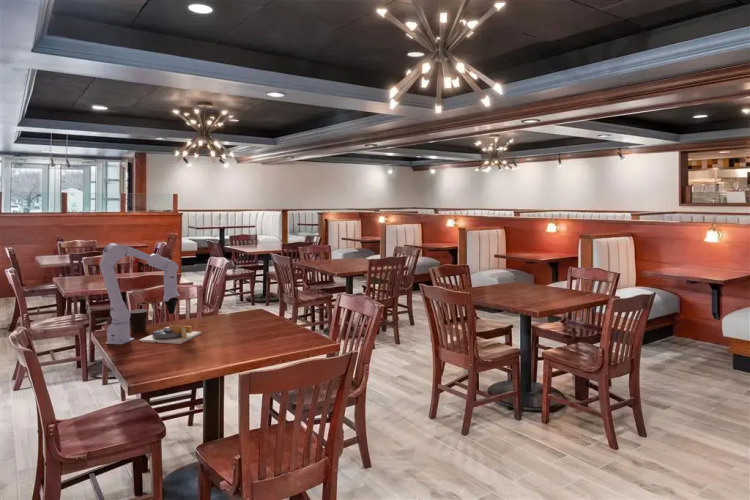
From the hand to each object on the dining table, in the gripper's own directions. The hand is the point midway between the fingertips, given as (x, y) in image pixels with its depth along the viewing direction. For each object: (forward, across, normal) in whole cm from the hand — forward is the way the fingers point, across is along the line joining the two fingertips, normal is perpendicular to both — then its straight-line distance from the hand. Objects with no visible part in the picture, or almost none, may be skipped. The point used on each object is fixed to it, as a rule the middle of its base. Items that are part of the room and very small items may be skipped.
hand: (171, 313), depth 253 cm
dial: (+8, -10, -4) cm, 13 cm away
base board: (+9, -9, -3) cm, 13 cm away
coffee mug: (+10, +5, +17) cm, 20 cm away
